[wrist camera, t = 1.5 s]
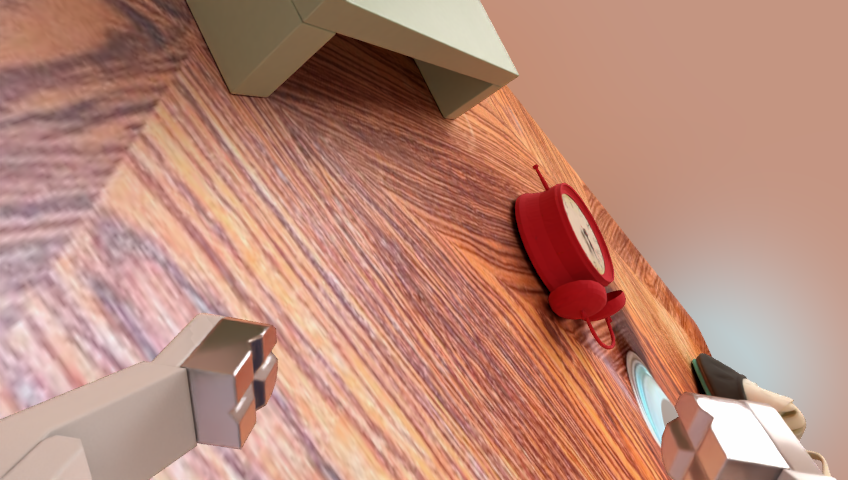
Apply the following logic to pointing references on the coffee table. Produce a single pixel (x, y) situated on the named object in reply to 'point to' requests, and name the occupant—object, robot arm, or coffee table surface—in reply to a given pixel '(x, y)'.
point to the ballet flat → (749, 395)
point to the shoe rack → (363, 20)
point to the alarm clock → (568, 254)
